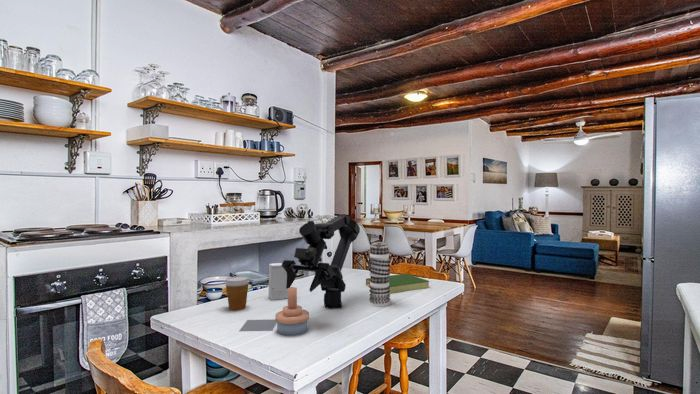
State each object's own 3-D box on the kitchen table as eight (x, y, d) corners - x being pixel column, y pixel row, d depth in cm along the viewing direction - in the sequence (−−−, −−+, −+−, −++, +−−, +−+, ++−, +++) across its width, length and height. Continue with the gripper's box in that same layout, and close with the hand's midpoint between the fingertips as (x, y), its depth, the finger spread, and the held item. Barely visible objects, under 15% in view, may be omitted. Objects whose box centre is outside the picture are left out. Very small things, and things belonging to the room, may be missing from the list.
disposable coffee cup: (229, 305, 154) (229, 275, 154) (252, 305, 154) (252, 275, 154) (221, 312, 145) (220, 281, 145) (245, 312, 144) (245, 281, 144)
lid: (302, 311, 132) (302, 283, 132) (313, 320, 122) (313, 290, 122) (271, 316, 127) (271, 286, 127) (280, 326, 118) (280, 294, 117)
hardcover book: (406, 280, 197) (406, 273, 197) (429, 288, 180) (429, 281, 180) (364, 286, 186) (364, 278, 186) (384, 295, 169) (384, 287, 169)
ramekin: (308, 325, 130) (308, 313, 130) (306, 336, 120) (306, 323, 120) (279, 325, 130) (279, 313, 130) (274, 336, 120) (274, 323, 120)
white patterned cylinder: (370, 299, 161) (369, 240, 161) (391, 300, 159) (391, 241, 159) (366, 305, 152) (366, 243, 152) (389, 306, 150) (389, 244, 150)
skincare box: (270, 300, 160) (270, 265, 160) (268, 297, 166) (267, 263, 166) (290, 298, 164) (290, 264, 163) (287, 294, 169) (286, 261, 169)
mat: (278, 320, 135) (278, 319, 135) (272, 331, 124) (272, 330, 124) (247, 320, 135) (247, 319, 135) (239, 332, 124) (239, 331, 124)
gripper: (283, 237, 137) (265, 274, 127) (329, 240, 129) (313, 279, 119) (296, 255, 144) (279, 291, 134) (339, 258, 136) (325, 297, 126)
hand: (298, 289), depth 128 cm, fingers open, 9 cm apart
